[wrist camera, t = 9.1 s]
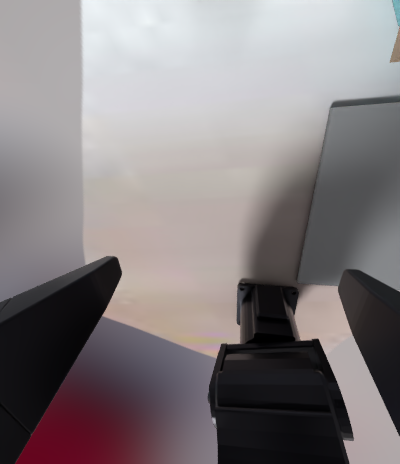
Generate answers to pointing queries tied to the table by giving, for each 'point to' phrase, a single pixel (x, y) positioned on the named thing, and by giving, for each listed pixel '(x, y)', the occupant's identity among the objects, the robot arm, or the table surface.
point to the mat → (356, 198)
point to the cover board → (396, 49)
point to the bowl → (397, 10)
